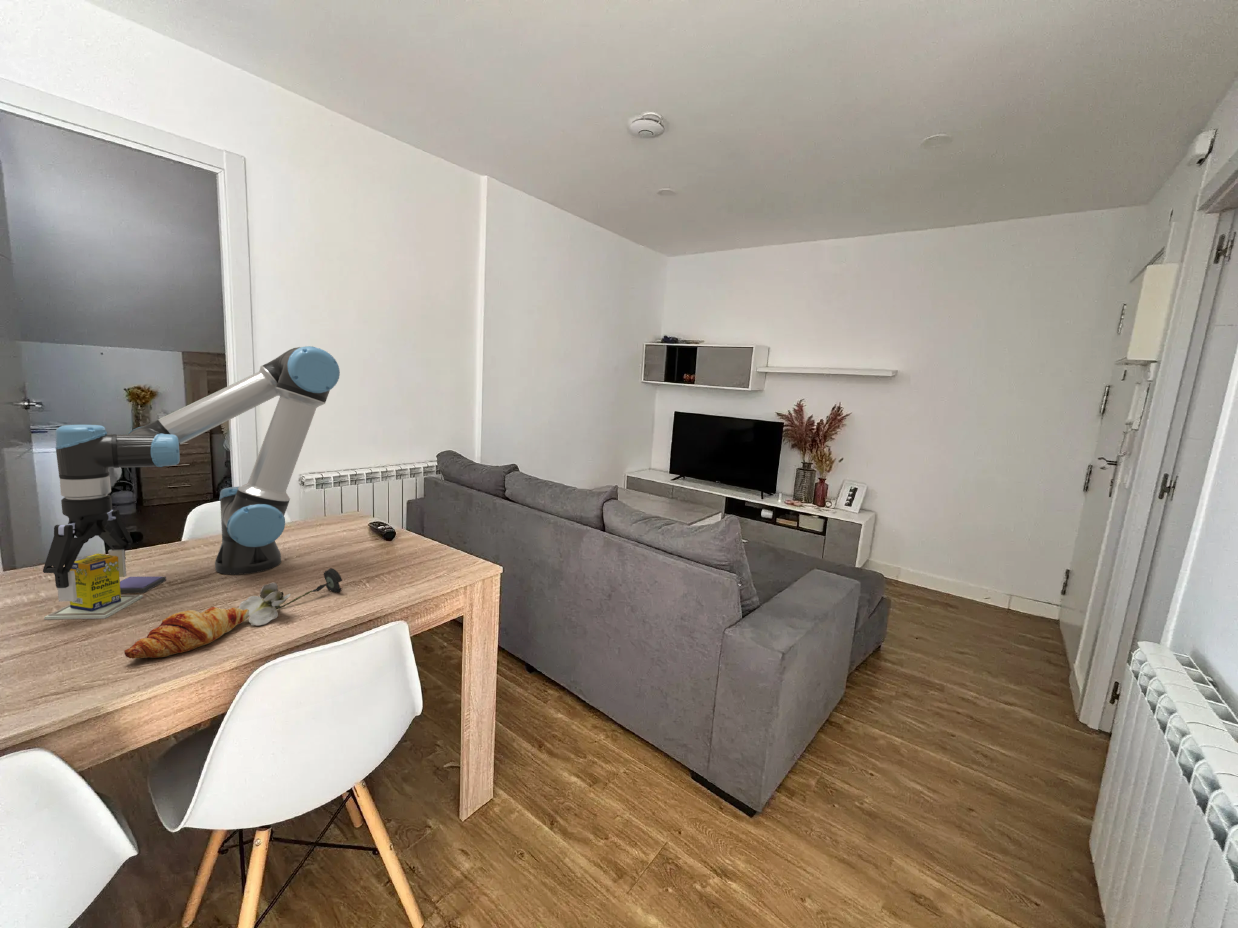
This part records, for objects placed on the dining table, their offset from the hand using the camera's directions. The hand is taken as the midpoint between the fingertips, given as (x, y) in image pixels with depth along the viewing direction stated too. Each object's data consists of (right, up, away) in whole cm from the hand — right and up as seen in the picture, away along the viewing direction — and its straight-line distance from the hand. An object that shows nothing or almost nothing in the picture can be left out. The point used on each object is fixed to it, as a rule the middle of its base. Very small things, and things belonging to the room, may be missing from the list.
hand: (94, 587), depth 112 cm
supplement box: (0, -4, +1) cm, 4 cm away
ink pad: (-3, -3, +12) cm, 13 cm away
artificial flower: (+40, -7, +8) cm, 42 cm away
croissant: (+31, -9, -10) cm, 34 cm away
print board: (0, -5, +1) cm, 5 cm away
